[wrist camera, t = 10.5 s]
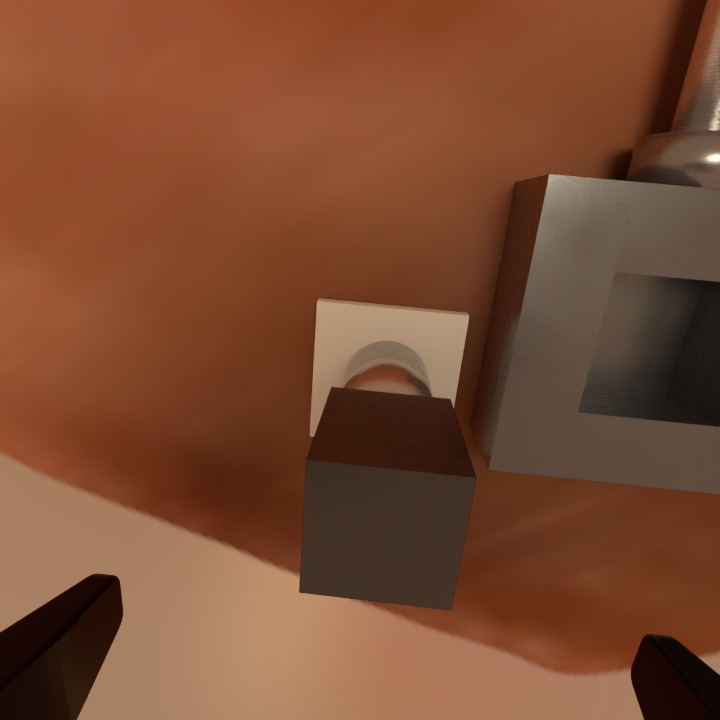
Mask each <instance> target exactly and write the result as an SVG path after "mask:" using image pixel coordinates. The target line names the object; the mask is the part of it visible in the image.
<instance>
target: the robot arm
mask: <svg viewBox="0 0 720 720" xmlns="http://www.w3.org/2000/svg"><path fill="white" fill-rule="evenodd" d="M122 617H123V605H122V597H121V587H120V581H119V579H118V577H117V576H114V575H105V574H93V575H90V576H89V577H87V578H85V579H84V580H82V581H80V582H79V583H77V584H76V585H74V586H73V587H71V588H69V589H68V590H66V591H65V592H63V593H62V594H60V595H58V596H57V597H55V598H54V599H52V600H50V601H49V602H47V603H46V604H44V605H43V606H41V607H39V608H38V609H36V610H35V611H33V612H32V613H30V614H28V615H27V616H25V617H24V618H22V619H21V620H19V621H17V622H16V623H14V624H13V625H11V626H9V627H8V628H6V629H5V630H3V631H2V632H0V720H77V718H78V716H79V714H80V712H81V709H82V708H83V705H84V703H85V701H86V699H87V697H88V694H89V692H90V690H91V688H92V686H93V684H94V682H95V679H96V677H97V675H98V673H99V671H100V669H101V666H102V664H103V662H104V660H105V658H106V656H107V653H108V651H109V649H110V647H111V644H112V642H113V640H114V638H115V636H116V634H117V632H118V629H119V627H120V625H121V621H122ZM631 680H632V685H633V688H634V691H635V694H636V697H637V700H638V703H639V705H640V709H641V712H642V715H643V718H644V720H720V675H719V674H718V673H716V672H715V671H714V670H713V669H712V668H710V667H709V666H708V665H707V664H705V663H704V662H703V661H702V660H701V659H699V658H698V657H697V656H696V655H695V654H693V653H692V652H691V651H690V650H688V649H687V648H686V647H685V646H684V645H682V644H681V643H680V642H679V641H677V640H676V639H674V638H672V637H669V636H663V635H654V634H647V635H646V636H644V637H643V639H642V641H641V643H640V646H639V649H638V651H637V654H636V656H635V659H634V662H633V664H632V667H631Z"/></svg>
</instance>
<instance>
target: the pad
mask: <svg viewBox="0 0 720 720" xmlns="http://www.w3.org/2000/svg"><path fill="white" fill-rule="evenodd" d="M468 321H469V315H468V313H467V312H457V311H446V310H436V309H426V308H415V307H405V306H395V305H384V304H374V303H363V302H353V301H343V300H332V299H322V298H319V299H318V301H317V312H316V330H315V348H314V366H313V384H312V401H311V419H310V436H312V437H314V435H315V432H316V430H317V427H318V424H319V421H320V418H321V415H322V412H323V409H324V406H325V403H326V401H327V398H328V395H329V392H330V389H331V387H340V388H342V384H343V381H344V377H345V374H346V370H347V367H348V364H349V362H350V360H351V359H352V357H353V356H354V355H355V354H356V353H357V352H358V351H359V350H360V349H362V348H363V347H365V346H367V345H369V344H371V343H374V342H378V341H394V342H398V343H401V344H404V345H406V346H408V347H409V348H411V349H412V350H414V351H415V352H416V353H417V354H418V355H419V357H420V358H421V359H422V361H423V363H424V365H425V368H426V371H427V375H428V379H429V384H430V388H431V392H432V396H433V397H437V398H447V399H451V402H452V405H453V408H454V404H455V398H456V392H457V386H458V380H459V374H460V369H461V363H462V357H463V351H464V345H465V339H466V333H467V327H468Z"/></svg>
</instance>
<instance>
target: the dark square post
mask: <svg viewBox="0 0 720 720" xmlns="http://www.w3.org/2000/svg"><path fill="white" fill-rule="evenodd" d="M476 479H477V478H476V475H475V472H474V469H473V466H472V463H471V460H470V457H469V454H468V450H467V447H466V444H465V441H464V438H463V435H462V432H461V429H460V426H459V423H458V420H457V417H456V414H455V411H454V408H453V405H452V402H451V399H447V398H437V397H433V396H432V392H431V388H430V384H429V379H428V375H427V371H426V368H425V365H424V363H423V361H422V359H421V358H420V357H419V355H418V354H417V353H416V352H415V351H414V350H412V349H411V348H409V347H408V346H406V345H404V344H401V343H398V342H394V341H378V342H374V343H371V344H369V345H367V346H365V347H363V348H362V349H360V350H359V351H358V352H357V353H356V354H355V355H354V356H353V357H352V359H351V360H350V362H349V364H348V367H347V370H346V374H345V377H344V381H343V384H342V388H340V387H331V389H330V392H329V395H328V398H327V401H326V403H325V406H324V409H323V412H322V415H321V418H320V421H319V424H318V427H317V430H316V432H315V435H314V438H313V441H312V444H311V447H310V450H309V453H308V456H307V459H306V472H305V491H304V510H303V529H302V549H301V568H300V589H299V592H300V593H308V594H317V595H325V596H333V597H342V598H350V599H358V600H367V601H375V602H383V603H392V604H400V605H409V606H417V607H425V608H434V609H442V610H450V611H451V609H452V604H453V598H454V593H455V588H456V583H457V577H458V572H459V567H460V562H461V557H462V551H463V546H464V541H465V536H466V531H467V525H468V520H469V515H470V510H471V505H472V499H473V494H474V489H475V484H476Z"/></svg>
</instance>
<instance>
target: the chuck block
mask: <svg viewBox="0 0 720 720" xmlns="http://www.w3.org/2000/svg"><path fill="white" fill-rule="evenodd" d="M471 427H472V430H473V432H474V435H475V437H476V440H477V442H478V445H479V447H480V450H481V452H482V455H483V457H484V460H485V463H486V465H487V468H488V470H494V471H504V472H513V473H523V474H532V475H542V476H551V477H561V478H570V479H580V480H589V481H599V482H608V483H618V484H627V485H637V486H646V487H656V488H665V489H675V490H684V491H694V492H703V493H713V494H720V0H707V1H706V5H705V8H704V12H703V15H702V19H701V22H700V26H699V30H698V33H697V37H696V40H695V44H694V47H693V51H692V55H691V58H690V62H689V65H688V69H687V73H686V76H685V80H684V83H683V87H682V90H681V94H680V98H679V101H678V105H677V108H676V112H675V116H674V119H673V123H672V126H671V130H670V132H665V133H657V134H651V135H646V136H643V137H640V138H638V139H636V142H635V146H634V149H633V153H632V157H631V161H630V165H629V169H628V173H627V176H626V180H625V181H621V180H609V179H598V178H587V177H575V176H564V175H553V174H548V175H544V176H540V177H535V178H531V179H527V180H522V181H518V182H516V186H515V191H514V197H513V202H512V207H511V213H510V218H509V224H508V229H507V234H506V240H505V245H504V251H503V256H502V261H501V267H500V272H499V278H498V283H497V288H496V294H495V299H494V305H493V310H492V315H491V321H490V326H489V332H488V337H487V342H486V348H485V353H484V359H483V364H482V369H481V375H480V380H479V386H478V391H477V396H476V402H475V407H474V413H473V418H472V423H471Z"/></svg>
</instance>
